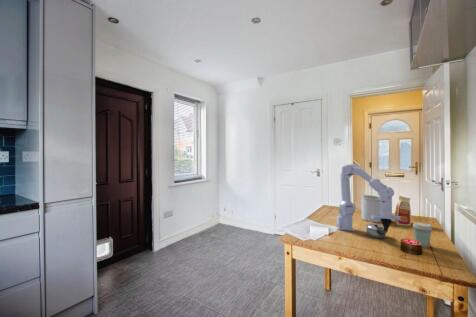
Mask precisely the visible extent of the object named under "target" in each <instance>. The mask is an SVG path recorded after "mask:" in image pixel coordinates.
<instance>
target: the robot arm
mask: <svg viewBox="0 0 476 317" xmlns="http://www.w3.org/2000/svg"><path fill="white" fill-rule="evenodd" d="M354 175H357V176H359V177H361V178H362V179H363V180H365V181H367V183H368V185H369V187H370V188H372V189H373V190H374V191H375V192H377V194H378V195H377V196H380V215H372V219H380V220H381V222H380V223H382V224H381V225H383V227H384V229H385V230H386V233H388V231H389V228H390V226H391V224H392V223H393V221H395V220H401V217H400V216H395V214H394V215H393V197H394V195H395V191H394V189H393V188H392V187H391V186H387V185H386V184H384V183H382V182H381V180H380V179H378V178H373V177H372V176H371V175H369V173H367V172H366V171H365V170H364V169H363V168H362V166H360V165H358V163H351V164H345V165H344V166H342V167H341V173H340V176H339V177H340V192H341V202H340V203H339V204H338V206H339V207H338V210H337V211H338V213H339V215H337V216H336V227H337V229H338V230H339V231H353V232H354V231H355V228H353V216H354V214H355V212H356V209H355V206H354V203H353V202H352V201H351V200H352V197H351V184H350V182H351V181H350V178H351V177H352V176H354Z"/></svg>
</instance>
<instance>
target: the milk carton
mask: <svg viewBox="0 0 476 317" xmlns="http://www.w3.org/2000/svg"><path fill="white" fill-rule="evenodd" d="M411 198H412V197H406V196H402V195H399V196H398V201H397V203H396V205H395V206H396V207H395V211H394V216H400V217H401V220H394V222H395V224H396V225H397V226H408V227H409V226H412V212H411V211H412V209H411V204H410V201H411Z"/></svg>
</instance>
